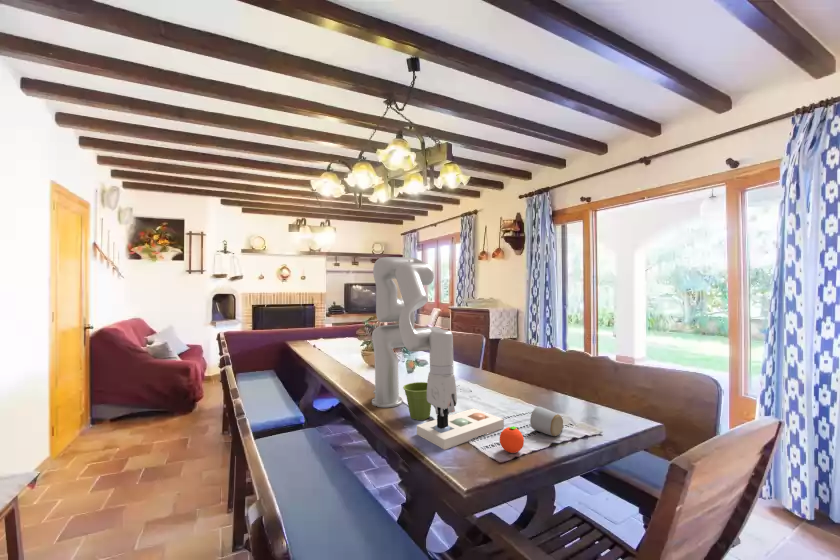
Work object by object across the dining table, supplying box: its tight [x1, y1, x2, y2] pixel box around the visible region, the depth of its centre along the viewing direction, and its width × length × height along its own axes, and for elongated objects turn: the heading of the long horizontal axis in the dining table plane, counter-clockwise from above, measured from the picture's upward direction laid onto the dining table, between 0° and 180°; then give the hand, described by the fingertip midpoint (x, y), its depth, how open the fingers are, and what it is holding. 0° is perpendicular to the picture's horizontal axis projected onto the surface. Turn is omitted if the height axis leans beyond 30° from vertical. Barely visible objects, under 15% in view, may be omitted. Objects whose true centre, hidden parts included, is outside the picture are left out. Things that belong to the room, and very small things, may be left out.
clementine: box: [499, 425, 525, 454], centre depth 112 cm, size 8×7×7 cm
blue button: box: [435, 425, 450, 433], centre depth 122 cm, size 5×5×3 cm
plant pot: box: [402, 381, 432, 421], centre depth 140 cm, size 12×12×11 cm
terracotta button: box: [471, 413, 485, 421], centre depth 132 cm, size 5×5×3 cm
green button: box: [454, 418, 468, 427], centre depth 127 cm, size 5×5×3 cm
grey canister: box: [529, 406, 564, 437], centre depth 126 cm, size 11×8×8 cm
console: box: [416, 407, 505, 450], centre depth 127 cm, size 14×26×3 cm, turn 126°
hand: (442, 426), depth 122 cm, fingers closed
